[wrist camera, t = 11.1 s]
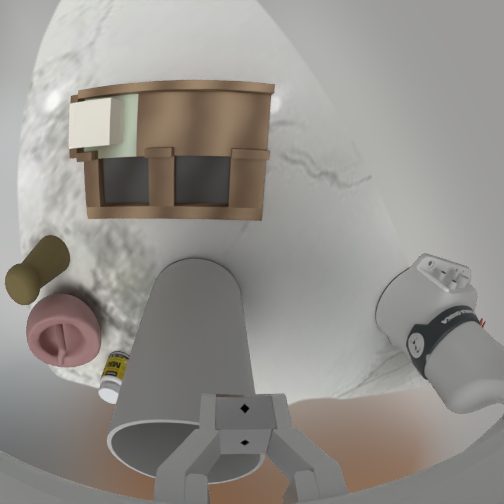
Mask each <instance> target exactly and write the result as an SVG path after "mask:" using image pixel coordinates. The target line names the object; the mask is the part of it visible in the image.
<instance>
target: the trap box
mask: <svg viewBox="0 0 504 504" xmlns="http://www.w3.org/2000/svg"><path fill="white" fill-rule="evenodd" d="M274 88H275V84H266V83H255V82H241V81H219V80H175V81H154V82H140V83H129V84H119V85H111V86H104V87H97V88H90V89H84V90H79V91H78V95H73V96H71V103H76V102H83V101H89V100H97V99H104V98H114V99H118V100H122V101H125V103H124V123H123V143H119V144H113V145H104V146H92V147H82V148H72V149H70V158H77V162H81V161H84V174H85V192H86V205H87V216H88V219H103V218H169V219H226V220H259V221H262V208H263V196H264V183H265V170H266V160H269V156H270V151H269V150H267V143H268V130H269V116H270V102H271V95H272V94H273V93H274Z"/></svg>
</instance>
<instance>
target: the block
mask: <svg viewBox="0 0 504 504" xmlns="http://www.w3.org/2000/svg"><path fill="white" fill-rule="evenodd" d="M124 103H125V101H122V100H118V99H114V98H104V99H97V100H89V101H83V102H76V103H70V112H69V149H72V148H82V147H92V146H104V145H113V144H119V143H123V123H124Z"/></svg>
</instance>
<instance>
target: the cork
mask: <svg viewBox="0 0 504 504" xmlns="http://www.w3.org/2000/svg"><path fill="white" fill-rule="evenodd" d="M69 262H70V254H69V251H68V248H67V247H66V245H65V243H64V242H63V241H62V240H61V239H59V238H58V237H56V236H52V235H49V236H45V237H44V238H42V239H41V241H40V242H39V243H38V244H37V245H36V246H35V248H34V249H33V250H32V251H31V252H30V254H29V255H28V256H27V257H26V258H25V260H24V261H23V262H22V263H21V264H16V265H14V266H13V267H12V268H11V269H9V271H8V272H7V275H6V278H5V285H6V289H7V292H8V294H9V295H10V297H11V298H12V299H13V300H14V301H15V302H17V303H18V304H21V305H29V304H31V303H32V302H34V301H35V300H36V298H37V297H38V295H39V292H40V288H42V287H43V286H44V285H46V284H47V283H48V282H50V281H51V280H52V279H54V278H55V277H56V276H58V275H59V274H61V273H62V272H63V271H65V270H66V269H67V267H68V266H69Z"/></svg>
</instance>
